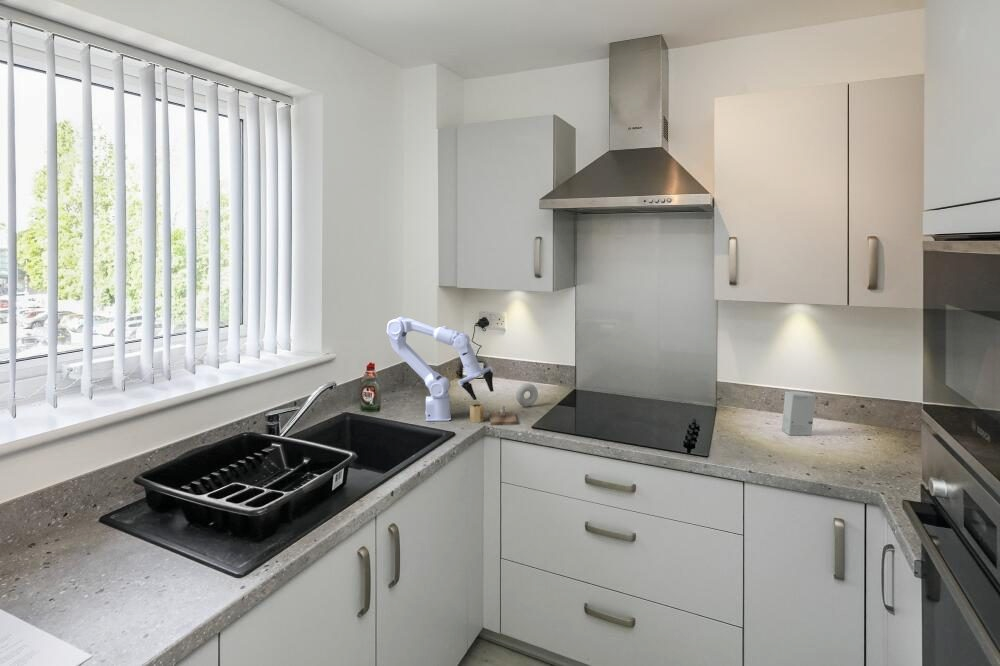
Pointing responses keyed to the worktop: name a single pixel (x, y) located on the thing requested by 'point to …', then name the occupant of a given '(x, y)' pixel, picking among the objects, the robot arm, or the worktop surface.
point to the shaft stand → (502, 417)
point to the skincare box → (798, 413)
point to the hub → (476, 412)
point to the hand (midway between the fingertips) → (483, 395)
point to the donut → (521, 392)
